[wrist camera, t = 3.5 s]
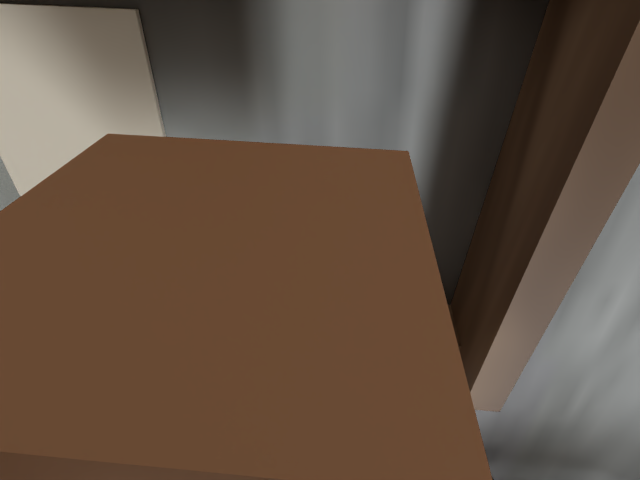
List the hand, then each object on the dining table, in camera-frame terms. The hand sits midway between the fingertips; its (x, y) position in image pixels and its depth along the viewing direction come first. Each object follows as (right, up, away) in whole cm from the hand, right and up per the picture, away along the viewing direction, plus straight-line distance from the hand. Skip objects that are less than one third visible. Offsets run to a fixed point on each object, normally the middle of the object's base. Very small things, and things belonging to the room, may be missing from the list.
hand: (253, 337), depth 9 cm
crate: (0, +1, +1) cm, 2 cm away
